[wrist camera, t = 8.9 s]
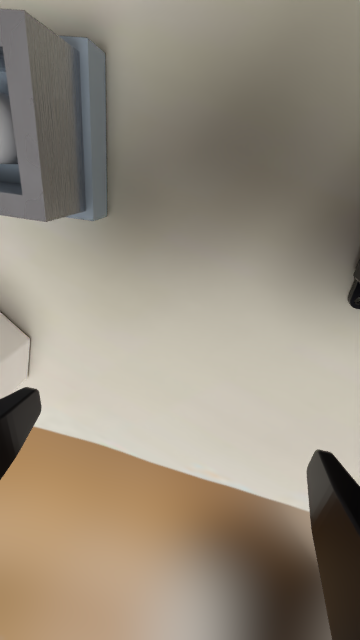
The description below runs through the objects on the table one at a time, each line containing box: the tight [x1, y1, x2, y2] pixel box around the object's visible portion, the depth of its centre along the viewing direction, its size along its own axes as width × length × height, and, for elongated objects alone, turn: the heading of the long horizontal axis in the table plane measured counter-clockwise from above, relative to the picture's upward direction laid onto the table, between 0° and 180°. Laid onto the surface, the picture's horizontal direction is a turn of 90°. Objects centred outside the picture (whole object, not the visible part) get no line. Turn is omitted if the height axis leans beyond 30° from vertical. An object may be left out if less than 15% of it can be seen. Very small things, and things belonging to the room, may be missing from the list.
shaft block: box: [0, 36, 107, 221], centre depth 15 cm, size 8×8×6 cm
